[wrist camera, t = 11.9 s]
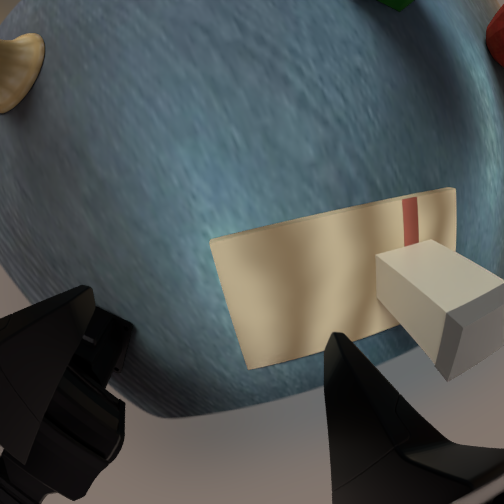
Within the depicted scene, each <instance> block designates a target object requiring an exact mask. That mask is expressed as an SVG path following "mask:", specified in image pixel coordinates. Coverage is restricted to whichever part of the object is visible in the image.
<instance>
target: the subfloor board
mask: <svg viewBox="0 0 504 504" xmlns="http://www.w3.org/2000/svg"><path fill="white" fill-rule="evenodd" d="M430 239H432V240H434V241H436V242H438V243H439V244H441V245H443V246H445V247H447V248H449V249H451V250H453V251H455V250H456V189H455V188H450V187H447V188H442V189H436V190H431V191H426V192H421V193H416V194H411V195H406V196H401V197H396V198H391V199H386V200H381V201H376V202H371V203H367V204H362V205H357V206H352V207H348V208H343V209H339V210H334V211H329V212H325V213H320V214H316V215H311V216H307V217H302V218H298V219H294V220H289V221H285V222H281V223H276V224H272V225H268V226H263V227H259V228H255V229H251V230H247V231H242V232H238V233H234V234H230V235H226V236H222V237H218V238H214V239H210V242H209V244H210V248H211V251H212V255H213V258H214V262H215V265H216V269H217V272H218V276H219V279H220V282H221V286H222V289H223V292H224V296H225V299H226V302H227V306H228V309H229V312H230V315H231V319H232V322H233V325H234V328H235V331H236V335H237V338H238V341H239V344H240V347H241V350H242V353H243V356H244V359H245V362H246V365H247V368H248V370H251V369H255V368H260V367H264V366H269V365H273V364H277V363H281V362H285V361H289V360H293V359H297V358H300V357H304V356H308V355H311V354H315V353H318V352H321V351H324V350H325V347H326V345H327V342H328V340H329V338H330V335H331V333H332V332H342V333H344V334H345V335H346V336H347V337H348V338H349V339H350V340H351V341H352V342H353V341H356V340H359V339H362V338H365V337H367V336H370V335H373V334H376V333H378V332H381V331H384V330H386V329H389V328H391V327H394V326H397V325H399V324H400V323H399V322H398V321H397V320H396V318H395V317H394V316H393V315H392V314H391V313H390V312H389V311H388V309H387V308H386V307H385V306H384V305H383V304H382V303H381V302H380V301H379V300H378V298H377V291H376V258H375V255H376V254H380V253H384V252H387V251H391V250H395V249H398V248H402V247H405V246H409V245H413V244H416V243H420V242H423V241H427V240H430Z"/></svg>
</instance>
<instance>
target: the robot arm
mask: <svg viewBox="0 0 504 504" xmlns="http://www.w3.org/2000/svg"><path fill="white" fill-rule="evenodd" d="M125 326H127V327H128V328H129V329H128V328H126V327H125ZM132 329H133V326H132V324H131V323H130V322H128V321H126V320H123V319H121V318H119V317H117V316H115V315H112V314H110V313H108V312H106V311H104V310H102V309H100V308H98V307H96V306H95V299H94V294H93V290H92V288H91V287H89V286H86V285H80V286H78V287H75V288H73V289H70V290H68V291H65V292H63V293H60V294H58V295H55V296H53V297H51V298H48V299H46V300H43V301H41V302H38V303H36V304H34V305H31V306H29V307H27V308H24V309H22V310H20V311H17V312H15V313H13V314H10V315H8V316H5V317H3V318H0V504H41V503H42V501H43V500H44V498H45V497H46V496H47V495H48V494H53V493H59V494H61V495H63V496H65V497H66V498H68V499H70V500H72V501H75V500H77V499H80V498H82V497H84V496H85V495H86V493H87V491H88V489H89V488H90V486H91V484H92V483H93V481H94V480H95V478H96V477H97V476H98V474H99V473H100V472H101V471H102V470H103V469H105V468H106V467H107V466H108V465H109V464H110V463H111V462H112V461H113V460H114V459H115V458H116V457H117V455H118V454H119V452H120V450H121V448H122V445H123V442H124V436H125V402H123V401H122V400H121V399H118V398H116V397H115V396H114V395H112V394H111V393H109V392H108V391H107V390H106V389H105V388H106V386H107V384H108V381H109V379H110V377H111V374H112V372H113V371H114V372H116V373H120V372H121V371H122V368H123V364H124V359H125V355H126V352H127V348H128V344H129V340H130V336H131V333H132ZM324 395H325V405H326V415H327V425H328V436H329V450H330V464H331V481H332V504H504V449H499V448H486V447H476V446H467V445H460V444H456V443H454V442H451V441H450V440H448V439H447V438H445V437H444V436H443V435H442V434H441V433H440V432H439V431H438V430H436V429H435V428H434V427H433V426H432V425H431V424H430V423H429V422H428V421H426V420H425V419H424V418H423V417H422V416H421V415H420V414H419V413H418V412H417V411H416V410H415V409H414V408H413V407H412V406H411V405H410V404H409V403H408V402H407V401H406V400H405V399H404V398H403V396H402V395H401V394H400V395H399V392H398V391H397V390H396V389H395V388H394V387H393V386H392V384H391V383H390V382H388V380H387V379H386V378H385V377H384V376H383V375H382V374H381V372H380V371H379V370H378V369H377V368H376V367H375V366H374V365H373V364H372V363H371V362H370V361H369V359H368V358H367V357H366V356H365V355H364V354H363V353H362V352H361V351H360V350H359V349H358V348H357V347H356V345H355V344H354V343H353V342H352V341H351V340H350V339H349V338H348V337H347V336H346V335H345V334H344V333H342V332H332V333H331V335H330V338H329V340H328V342H327V345H326V347H325V350H324Z"/></svg>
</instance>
